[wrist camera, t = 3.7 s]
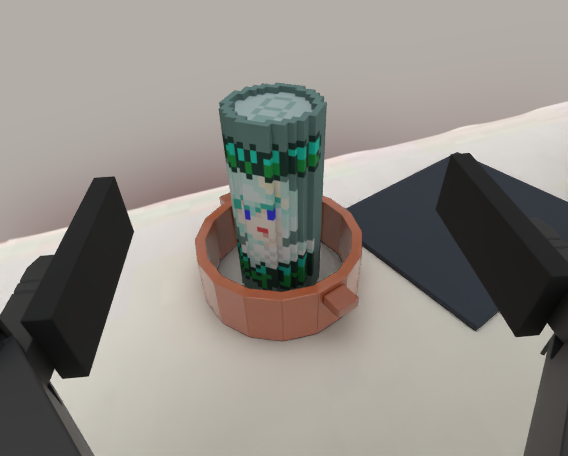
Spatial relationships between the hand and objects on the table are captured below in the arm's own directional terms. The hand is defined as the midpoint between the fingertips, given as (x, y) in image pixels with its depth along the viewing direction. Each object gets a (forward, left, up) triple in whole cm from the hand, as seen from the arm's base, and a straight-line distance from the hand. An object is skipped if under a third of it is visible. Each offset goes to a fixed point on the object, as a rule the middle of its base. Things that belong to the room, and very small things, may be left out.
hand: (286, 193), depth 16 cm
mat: (-23, -3, -15) cm, 28 cm away
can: (-5, -8, -15) cm, 18 cm away
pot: (-5, -8, -15) cm, 18 cm away
